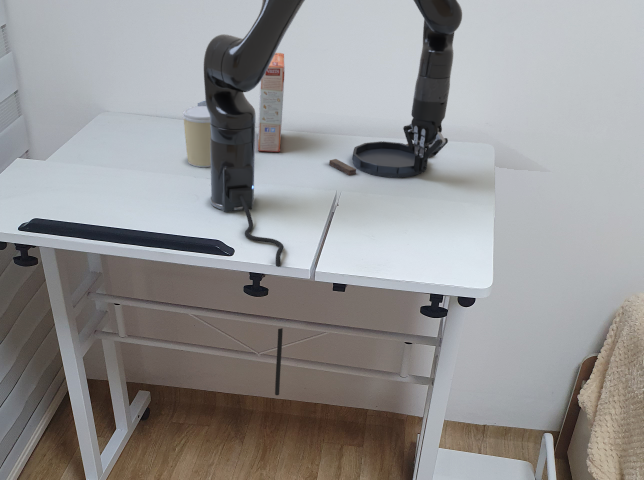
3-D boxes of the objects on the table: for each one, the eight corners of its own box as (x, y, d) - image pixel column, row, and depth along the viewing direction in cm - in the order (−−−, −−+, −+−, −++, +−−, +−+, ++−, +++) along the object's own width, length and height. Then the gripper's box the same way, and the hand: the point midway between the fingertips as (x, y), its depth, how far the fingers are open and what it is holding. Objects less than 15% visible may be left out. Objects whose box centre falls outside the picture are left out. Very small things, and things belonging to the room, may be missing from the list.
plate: (438, 173, 175) (440, 163, 173) (371, 180, 170) (373, 170, 168) (403, 149, 188) (405, 139, 187) (340, 155, 183) (341, 144, 182)
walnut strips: (432, 156, 184) (433, 152, 183) (349, 175, 172) (349, 170, 171) (411, 147, 189) (411, 142, 189) (329, 164, 177) (329, 160, 176)
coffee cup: (225, 156, 180) (225, 106, 173) (219, 169, 172) (219, 118, 165) (188, 153, 180) (186, 104, 173) (181, 167, 173) (179, 116, 166)
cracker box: (281, 153, 183) (285, 65, 170) (257, 152, 183) (259, 64, 170) (281, 135, 194) (284, 52, 182) (258, 134, 194) (261, 51, 182)
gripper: (398, 91, 163) (389, 165, 174) (439, 105, 154) (426, 183, 165) (423, 86, 167) (412, 160, 177) (464, 101, 158) (450, 177, 168)
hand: (419, 171), depth 171 cm, fingers closed
